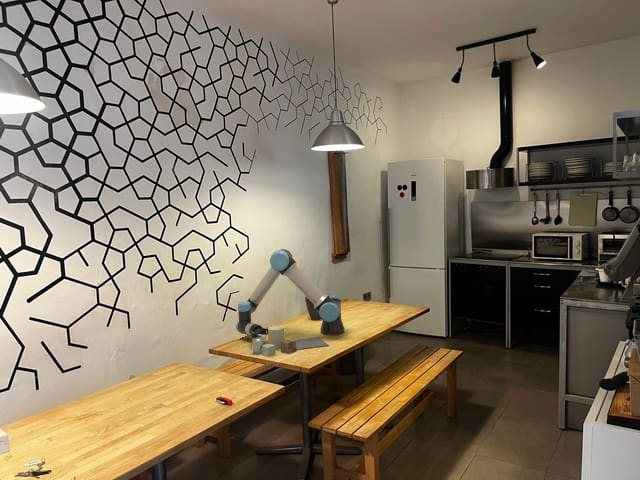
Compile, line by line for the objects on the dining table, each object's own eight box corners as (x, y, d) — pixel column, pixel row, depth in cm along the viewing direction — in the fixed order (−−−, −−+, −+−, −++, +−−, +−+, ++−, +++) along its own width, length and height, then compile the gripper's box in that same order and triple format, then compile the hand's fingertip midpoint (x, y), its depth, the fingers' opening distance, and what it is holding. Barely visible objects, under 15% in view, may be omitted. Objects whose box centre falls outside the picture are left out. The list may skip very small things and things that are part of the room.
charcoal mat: (318, 337, 285) (318, 336, 285) (328, 346, 266) (328, 345, 266) (286, 341, 279) (286, 340, 279) (294, 350, 260) (294, 349, 260)
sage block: (270, 352, 258) (269, 343, 257) (275, 354, 254) (275, 345, 254) (262, 355, 254) (262, 345, 254) (267, 356, 250) (267, 347, 250)
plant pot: (326, 321, 329) (325, 298, 328) (305, 322, 329) (304, 299, 328) (326, 316, 344) (325, 295, 343) (306, 317, 344) (305, 295, 343)
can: (282, 350, 261) (281, 329, 260) (266, 350, 263) (265, 328, 262) (286, 345, 270) (285, 325, 269) (271, 345, 272) (270, 325, 271)
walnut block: (289, 349, 262) (289, 339, 262) (296, 351, 258) (296, 340, 258) (281, 352, 258) (280, 341, 258) (287, 354, 254) (287, 343, 254)
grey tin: (262, 350, 262) (262, 336, 261) (264, 353, 256) (264, 339, 256) (252, 352, 260) (251, 337, 260) (253, 355, 254) (253, 340, 254)
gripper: (271, 332, 290) (292, 338, 275) (236, 340, 274) (256, 347, 258) (270, 320, 290) (292, 325, 274) (235, 327, 274) (256, 333, 258)
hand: (275, 336), depth 266 cm, fingers open, 13 cm apart
